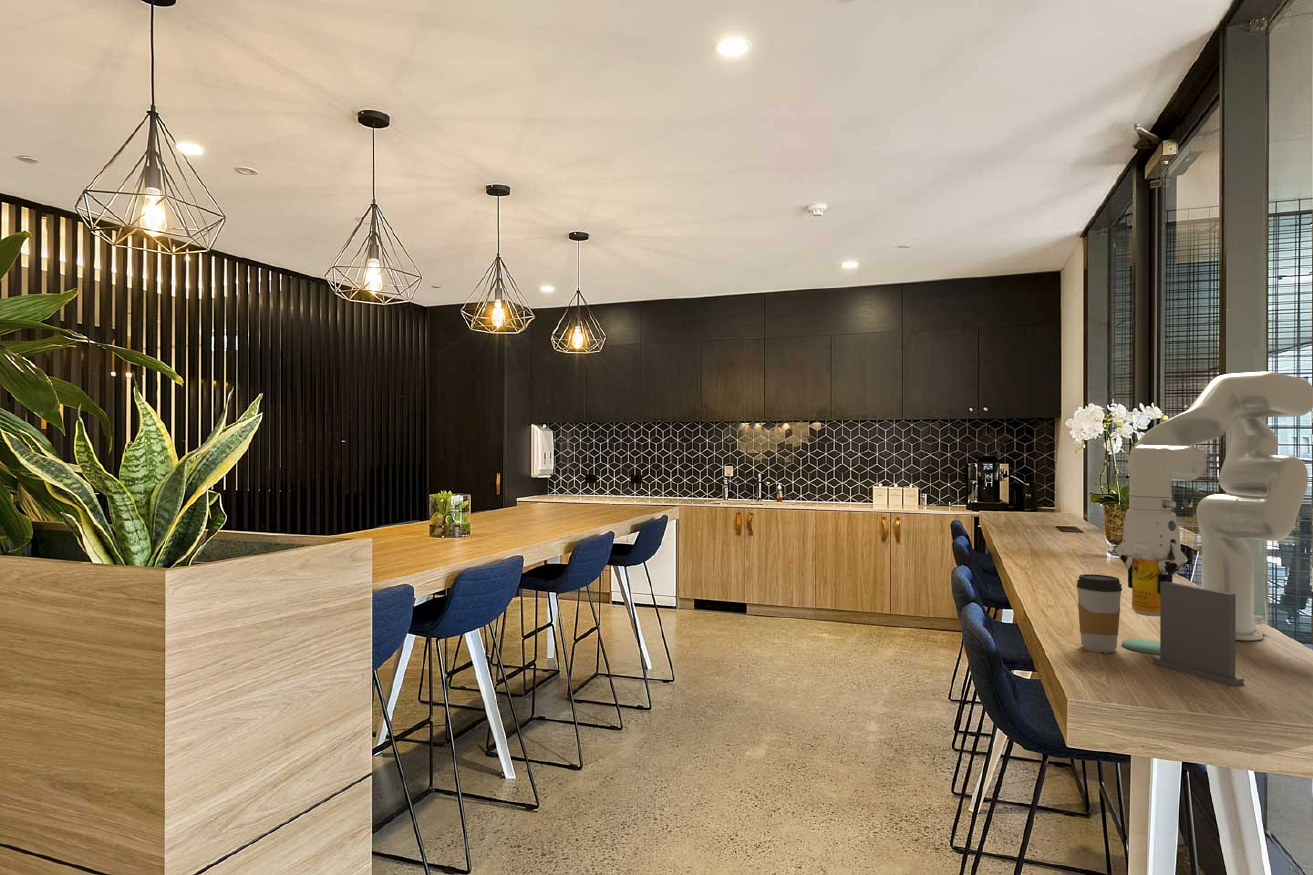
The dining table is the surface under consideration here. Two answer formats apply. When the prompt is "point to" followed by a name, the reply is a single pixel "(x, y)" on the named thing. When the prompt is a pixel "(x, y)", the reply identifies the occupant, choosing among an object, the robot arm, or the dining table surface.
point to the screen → (1198, 632)
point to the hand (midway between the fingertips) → (1149, 589)
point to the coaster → (1142, 646)
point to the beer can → (1145, 581)
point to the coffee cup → (1099, 611)
